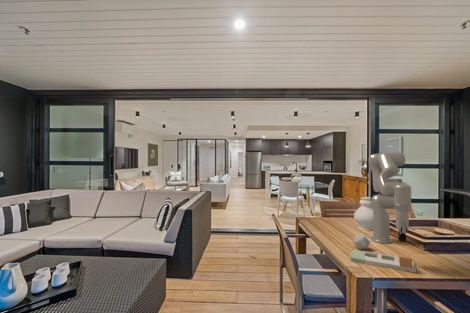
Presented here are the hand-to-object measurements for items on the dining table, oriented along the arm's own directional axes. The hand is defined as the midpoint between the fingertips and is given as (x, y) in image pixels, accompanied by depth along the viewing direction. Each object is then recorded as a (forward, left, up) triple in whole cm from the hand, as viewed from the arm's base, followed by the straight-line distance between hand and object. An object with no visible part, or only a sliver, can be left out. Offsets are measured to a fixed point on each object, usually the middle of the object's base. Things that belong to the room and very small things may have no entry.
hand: (402, 241), depth 129 cm
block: (+8, 0, -10) cm, 12 cm away
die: (-14, -20, -12) cm, 27 cm away
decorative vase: (-66, -17, -12) cm, 69 cm away
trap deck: (+3, -10, -12) cm, 16 cm away
